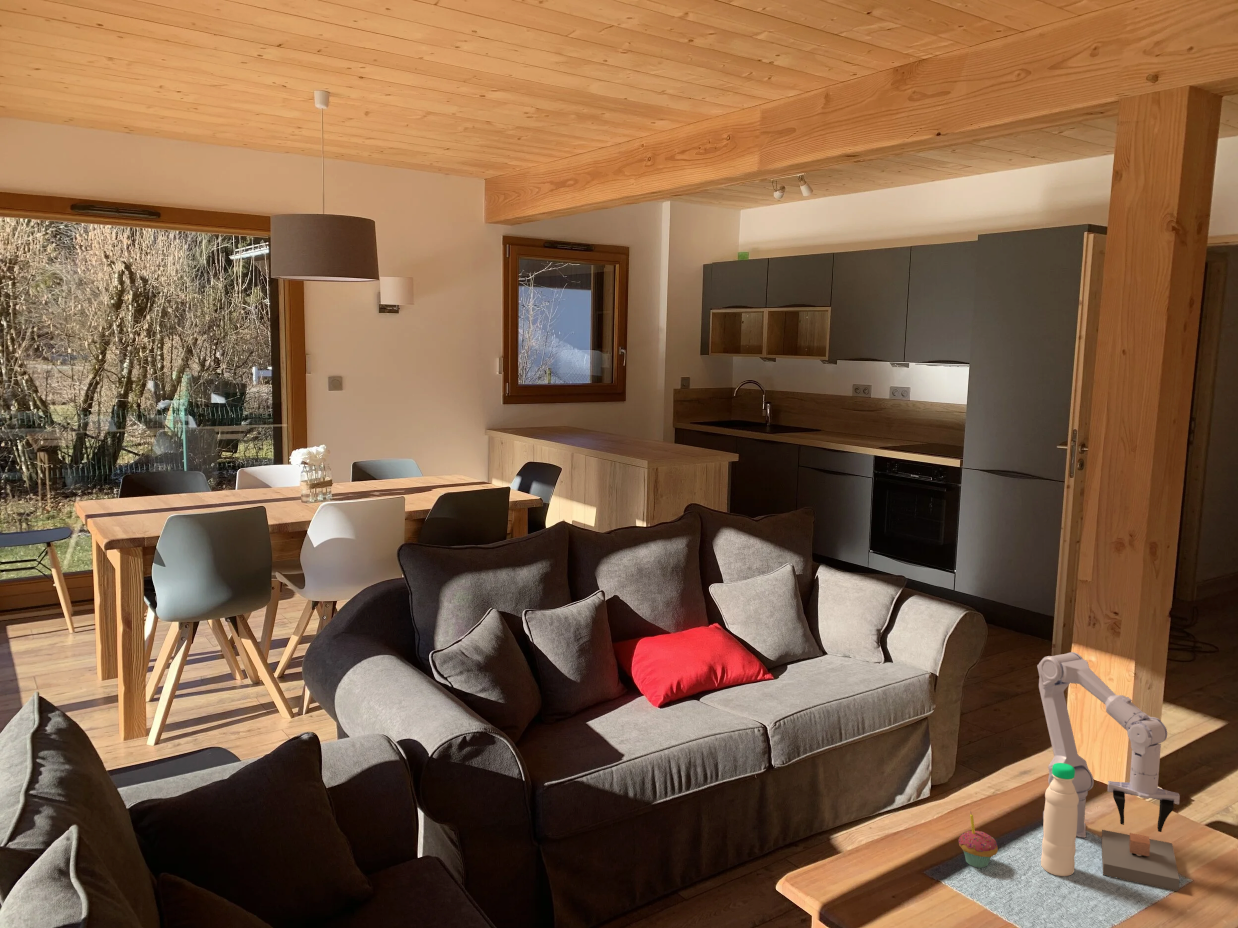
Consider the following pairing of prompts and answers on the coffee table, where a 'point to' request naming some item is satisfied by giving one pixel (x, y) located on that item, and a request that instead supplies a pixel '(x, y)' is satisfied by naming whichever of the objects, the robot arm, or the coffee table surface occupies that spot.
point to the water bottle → (1060, 822)
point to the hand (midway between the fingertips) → (1140, 826)
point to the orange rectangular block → (1139, 844)
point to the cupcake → (977, 846)
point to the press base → (1139, 861)
